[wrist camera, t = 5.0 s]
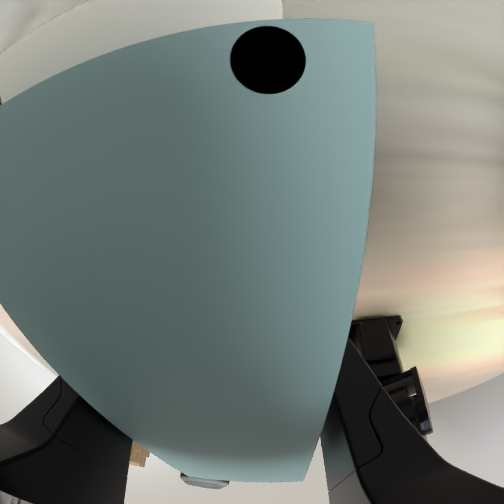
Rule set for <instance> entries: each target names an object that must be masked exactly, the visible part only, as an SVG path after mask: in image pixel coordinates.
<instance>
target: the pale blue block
mask: <svg viewBox="0 0 504 504" xmlns="http://www.w3.org/2000/svg"><path fill="white" fill-rule="evenodd" d="M0 97H1V102H2V105H0V304H1V305H2V306H3V308H4V309H5V311H6V312H7V313H8V315H9V316H10V317H11V319H12V320H13V321H14V323H15V324H16V325H17V327H18V328H19V329H20V331H21V332H22V333H23V334H24V336H25V337H26V338H27V339H28V340H29V342H30V343H31V344H32V345H33V346H34V348H35V349H36V350H37V351H38V352H39V353H40V355H41V356H42V357H43V358H44V359H45V360H46V361H47V362H48V363H49V365H50V366H51V367H52V368H53V369H54V370H55V371H56V372H57V373H58V374H59V375H60V376H61V377H62V378H63V379H64V380H65V381H66V382H67V383H68V384H69V385H70V386H71V387H72V388H73V389H74V390H75V391H76V392H77V393H78V394H79V395H80V396H81V397H82V398H83V399H84V400H86V401H87V402H88V403H89V404H90V405H91V406H92V407H93V408H94V409H96V410H97V411H98V412H99V413H100V414H101V415H103V416H104V417H105V418H106V419H107V420H108V421H110V422H111V423H112V424H113V425H115V426H116V427H117V428H118V429H120V430H121V431H122V432H123V433H125V434H126V435H127V436H129V437H130V438H131V439H133V440H134V441H135V442H137V443H138V444H139V445H141V446H142V447H144V448H145V449H147V450H148V451H149V452H151V453H152V454H154V455H155V456H157V457H158V458H160V459H161V460H163V461H164V462H166V463H167V464H169V465H171V466H172V467H174V468H175V469H177V470H179V471H180V472H182V473H184V474H185V475H187V476H189V477H196V478H204V479H214V480H226V481H243V482H295V481H296V482H297V481H303V480H304V478H305V475H306V473H307V470H308V468H309V465H310V462H311V460H312V457H313V454H314V451H315V448H316V445H317V443H318V440H319V437H320V434H321V431H322V428H323V425H324V422H325V419H326V416H327V412H328V409H329V406H330V403H331V399H332V396H333V392H334V389H335V385H336V382H337V378H338V374H339V371H340V367H341V363H342V359H343V355H344V351H345V347H346V343H347V338H348V334H349V330H350V325H351V321H352V316H353V311H354V306H355V301H356V296H357V291H358V285H359V280H360V274H361V268H362V262H363V255H364V249H365V242H366V234H367V227H368V219H369V210H370V201H371V191H372V179H373V166H374V151H375V129H376V63H375V42H374V28H373V23H371V22H362V21H351V20H337V19H283V11H282V2H281V0H89V1H87V2H85V3H83V4H80V5H78V6H76V7H74V8H72V9H70V10H68V11H66V12H65V13H63V14H61V15H59V16H57V17H55V18H54V19H52V20H50V21H48V22H47V23H45V24H43V25H41V26H40V27H38V28H37V29H35V30H33V31H32V32H30V33H29V34H27V35H26V36H24V37H23V38H21V39H20V40H18V41H17V42H15V43H14V44H12V45H11V46H10V47H8V48H7V49H5V50H4V51H3V52H1V53H0Z"/></svg>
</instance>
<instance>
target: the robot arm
mask: <svg viewBox="0 0 504 504" xmlns="http://www.w3.org/2000/svg"><path fill="white" fill-rule="evenodd" d="M402 322H403V321H402V318H401V317H400V316H398V317H389V318H381V319H372V320H362V321H352V322H351V325H350V330H349V334H348V338H347V343H346V347H345V351H344V355H343V359H342V363H341V367H340V371H339V374H338V378H337V382H336V385H335V389H334V392H333V396H332V399H331V403H330V406H329V409H328V412H327V416H326V419H325V422H324V425H323V428H322V431H321V434H320V438H321V446H322V451H323V458H324V465H325V471H326V478H327V486H328V491H329V492H328V494H329V500H330V501H329V502H330V504H504V488H503V487H500V486H497V485H495V484H492V483H490V482H488V481H485V480H483V479H481V478H479V477H476V476H474V475H472V474H469V473H468V472H465V471H463V470H461V469H459V468H457V467H455V466H453V465H451V464H450V463H448V462H447V461H445V460H444V459H443V458H442V457H441V456H439V454H437V452H436V451H435V450H434V449H433V448H432V447H431V446H430V445H429V443H428V442H427V438H426V435H427V434H430V433H432V432H433V428H432V423H431V417H430V412H429V407H428V403H427V399H426V395H425V391H424V388H423V384H422V381H421V379H420V376H419V373H418V370H417V368H416V366H415V367H413V368H410V370H408V371H406V372H404V371H403V367H402V363H401V360H400V356H399V353H398V349H397V346H396V342H395V340H396V338H397V335H398V333H399V330H400V328H401V325H402ZM414 393H416V395H414V396H410V395H412V394H414ZM132 444H133V439H131V438H130V437H129V436H127V435H126V434H125V433H123V432H122V431H121V430H120V429H118V428H117V427H116V426H115V425H113V424H112V423H111V422H110V421H108V420H107V419H106V418H105V417H104V416H103V415H101V414H100V413H99V412H98V411H97V410H96V409H94V408H93V407H92V406H91V405H90V404H89V403H88V402H87V401H86V400H84V399H83V398H82V397H81V396H80V395H79V394H78V393H77V392H76V391H75V390H74V389H73V388H72V387H71V386H70V385H69V384H68V383H67V382H66V381H65V380H64V379H63V378H62V377H61V376H60V375H59V376H58V377H57V378H56V379H55V380H54V381H53V382H52V383H51V384H50V385H49V386H48V387H47V388H46V389H45V390H44V391H43V392H42V393H41V394H40V395H39V396H38V397H36V398H35V399H34V400H33V401H32V402H31V403H30V404H29V405H27V406H26V407H25V408H24V409H23V410H22V411H21V412H19V413H18V414H17V415H16V416H15V417H14V418H12V419H11V420H10V421H8V422H6V423H4V424H1V425H0V504H124V497H125V490H126V483H127V474H128V468H129V462H130V456H131V450H132Z"/></svg>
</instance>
